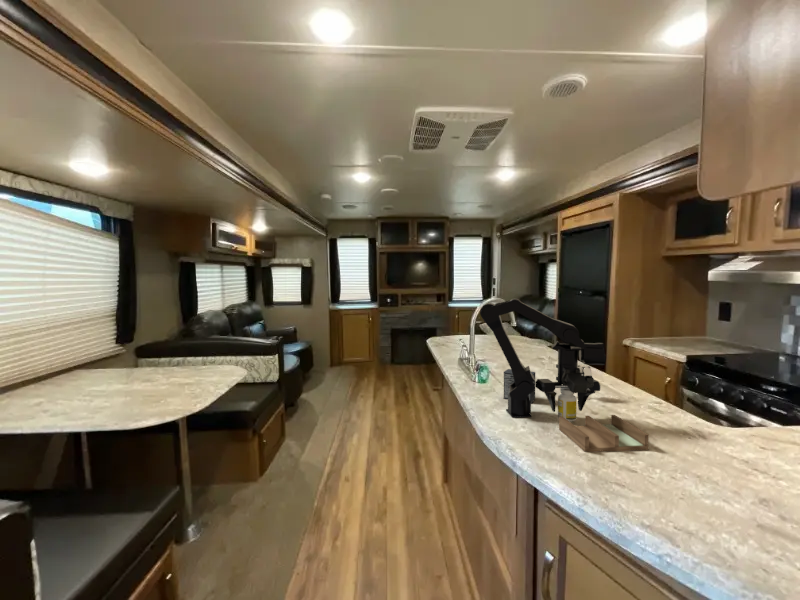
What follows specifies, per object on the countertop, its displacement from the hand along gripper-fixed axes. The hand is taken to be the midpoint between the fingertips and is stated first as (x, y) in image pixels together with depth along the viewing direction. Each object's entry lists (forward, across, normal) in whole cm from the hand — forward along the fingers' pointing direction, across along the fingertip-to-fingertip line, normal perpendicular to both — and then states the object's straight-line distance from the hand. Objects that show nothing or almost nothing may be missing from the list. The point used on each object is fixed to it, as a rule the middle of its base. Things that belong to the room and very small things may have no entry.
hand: (566, 411), depth 116 cm
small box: (+3, -8, +20) cm, 22 cm away
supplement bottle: (+3, 0, 0) cm, 3 cm away
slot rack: (+2, +2, -15) cm, 15 cm away
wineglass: (+3, +16, +19) cm, 25 cm away
